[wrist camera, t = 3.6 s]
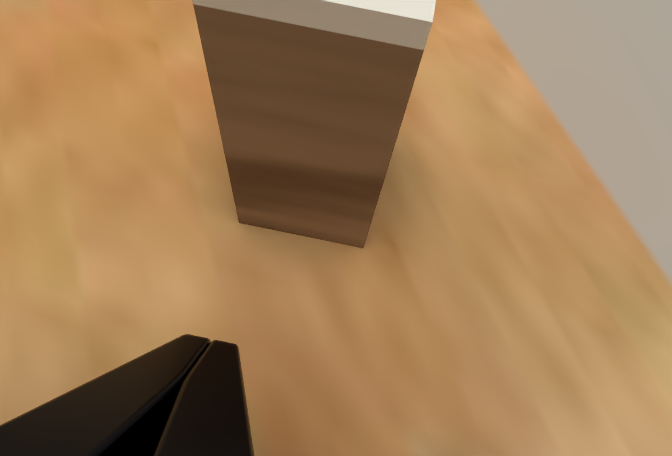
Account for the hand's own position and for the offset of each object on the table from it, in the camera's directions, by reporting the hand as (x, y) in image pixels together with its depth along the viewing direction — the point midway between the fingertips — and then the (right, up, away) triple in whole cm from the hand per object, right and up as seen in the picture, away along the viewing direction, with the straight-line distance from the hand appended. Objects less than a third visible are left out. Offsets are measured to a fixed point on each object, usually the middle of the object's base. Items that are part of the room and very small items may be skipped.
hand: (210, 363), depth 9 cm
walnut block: (+1, +4, +14) cm, 15 cm away
